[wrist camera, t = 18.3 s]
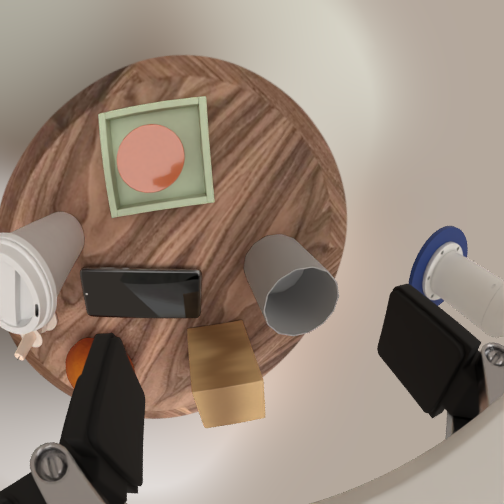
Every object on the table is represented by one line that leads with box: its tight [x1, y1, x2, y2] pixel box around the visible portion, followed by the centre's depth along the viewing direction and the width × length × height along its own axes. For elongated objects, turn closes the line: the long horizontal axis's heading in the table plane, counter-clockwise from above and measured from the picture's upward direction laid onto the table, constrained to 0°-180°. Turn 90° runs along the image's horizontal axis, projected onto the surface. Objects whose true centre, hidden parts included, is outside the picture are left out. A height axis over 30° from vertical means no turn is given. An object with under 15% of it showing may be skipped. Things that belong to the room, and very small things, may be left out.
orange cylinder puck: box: [117, 124, 185, 193], centre depth 26 cm, size 6×6×6 cm
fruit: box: [66, 338, 135, 388], centre depth 33 cm, size 11×10×8 cm
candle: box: [15, 313, 58, 360], centre depth 28 cm, size 5×5×10 cm
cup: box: [244, 234, 339, 336], centre depth 33 cm, size 8×8×10 cm
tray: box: [98, 96, 215, 218], centre depth 28 cm, size 12×12×3 cm
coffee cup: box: [0, 212, 84, 334], centre depth 23 cm, size 10×10×15 cm
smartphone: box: [80, 267, 202, 318], centre depth 34 cm, size 7×1×16 cm
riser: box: [187, 320, 265, 428], centre depth 35 cm, size 8×8×12 cm
